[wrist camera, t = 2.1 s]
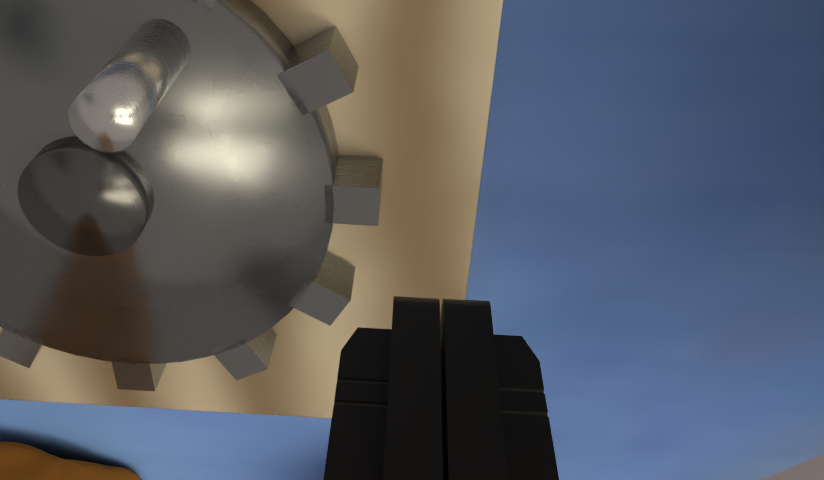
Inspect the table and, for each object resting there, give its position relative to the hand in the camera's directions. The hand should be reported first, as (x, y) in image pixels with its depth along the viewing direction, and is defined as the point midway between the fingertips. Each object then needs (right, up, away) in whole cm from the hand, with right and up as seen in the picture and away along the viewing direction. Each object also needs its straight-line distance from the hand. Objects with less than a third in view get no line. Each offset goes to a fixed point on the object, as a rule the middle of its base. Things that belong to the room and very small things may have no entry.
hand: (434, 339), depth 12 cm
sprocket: (-11, +4, +15) cm, 19 cm away
